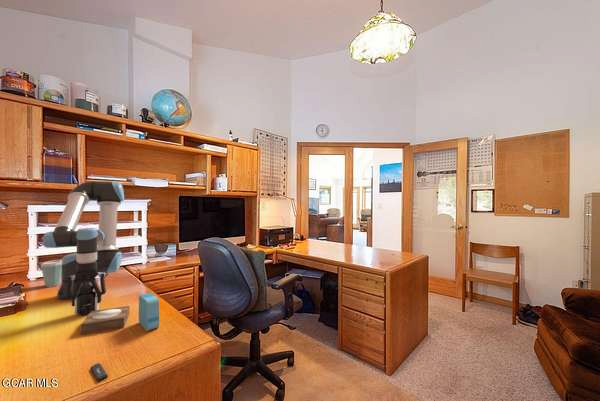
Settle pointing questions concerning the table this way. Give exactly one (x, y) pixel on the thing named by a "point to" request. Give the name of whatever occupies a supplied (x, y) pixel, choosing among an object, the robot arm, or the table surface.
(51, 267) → the disposable coffee cup
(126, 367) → the table surface
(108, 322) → the base
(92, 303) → the supplement bottle
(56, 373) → the table surface
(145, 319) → the light-blue rounded block
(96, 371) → the usb stick
